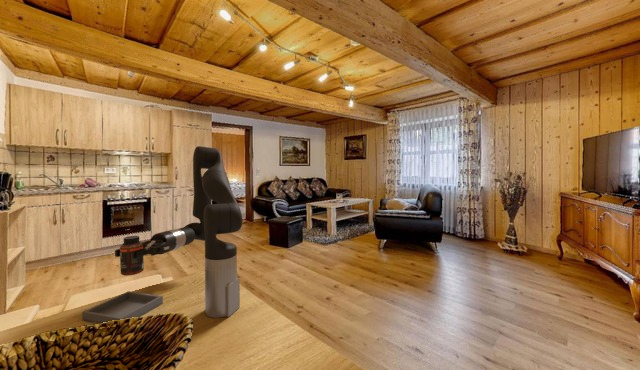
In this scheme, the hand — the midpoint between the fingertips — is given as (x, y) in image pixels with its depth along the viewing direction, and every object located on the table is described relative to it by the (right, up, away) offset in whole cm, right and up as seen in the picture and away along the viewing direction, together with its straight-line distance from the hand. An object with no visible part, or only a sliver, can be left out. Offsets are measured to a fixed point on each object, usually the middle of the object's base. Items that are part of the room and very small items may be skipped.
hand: (124, 254), depth 79 cm
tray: (0, -18, +1) cm, 18 cm away
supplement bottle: (+1, -7, +3) cm, 7 cm away
